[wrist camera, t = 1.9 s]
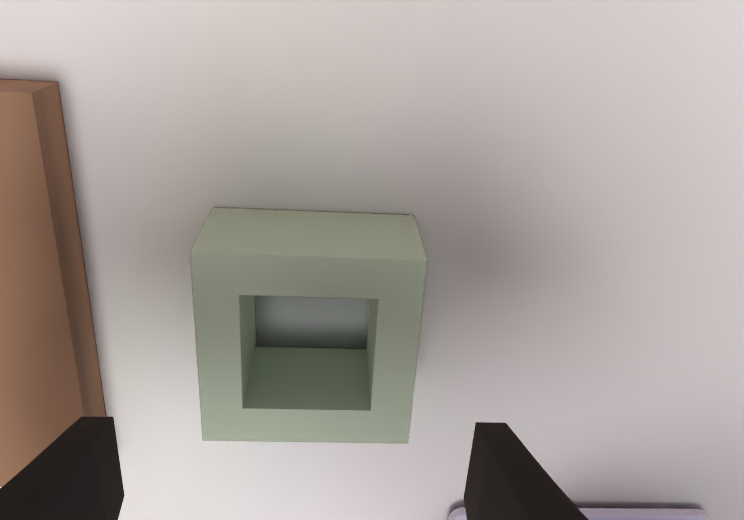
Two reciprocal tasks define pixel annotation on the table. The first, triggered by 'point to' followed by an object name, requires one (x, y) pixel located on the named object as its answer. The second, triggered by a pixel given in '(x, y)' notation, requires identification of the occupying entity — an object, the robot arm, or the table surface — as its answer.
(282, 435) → the collar
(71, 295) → the peg base
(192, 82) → the table surface
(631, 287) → the table surface
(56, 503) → the robot arm
